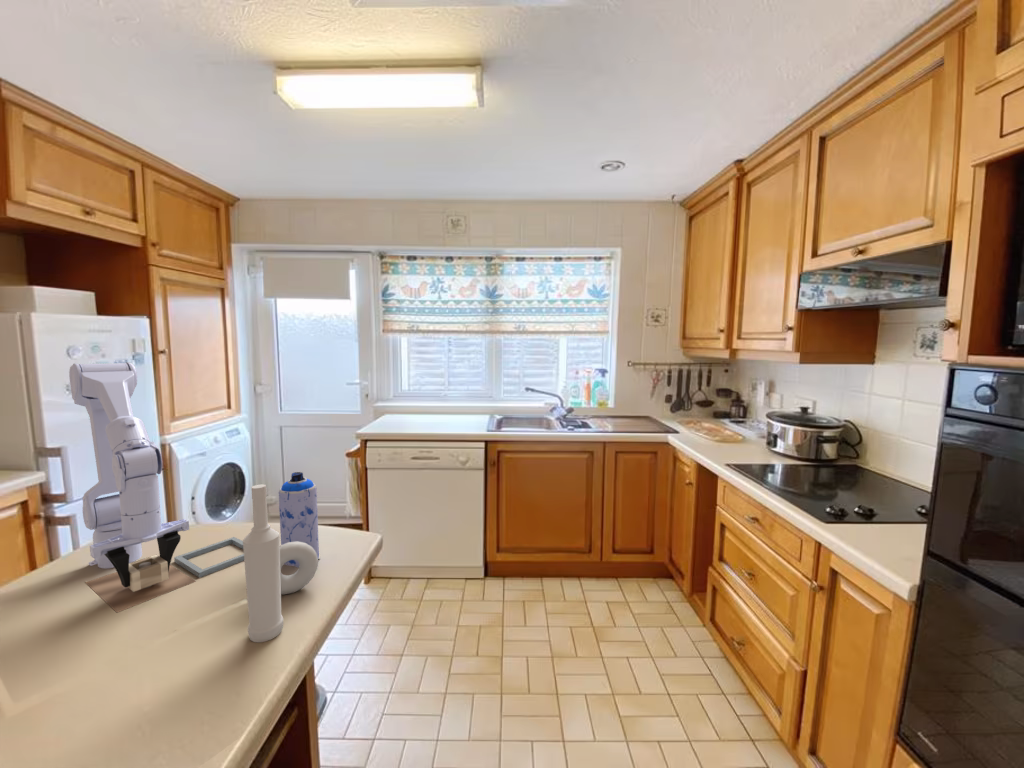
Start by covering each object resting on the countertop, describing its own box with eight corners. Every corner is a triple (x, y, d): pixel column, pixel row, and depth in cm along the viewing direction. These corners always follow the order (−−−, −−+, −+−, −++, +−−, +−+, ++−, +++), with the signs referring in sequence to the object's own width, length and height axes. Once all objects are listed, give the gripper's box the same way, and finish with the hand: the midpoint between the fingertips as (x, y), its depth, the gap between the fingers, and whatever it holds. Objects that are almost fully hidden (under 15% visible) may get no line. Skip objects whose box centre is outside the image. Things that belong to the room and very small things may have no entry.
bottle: (246, 647, 68) (238, 493, 66) (249, 628, 73) (241, 484, 71) (283, 637, 70) (276, 488, 68) (283, 619, 75) (277, 479, 73)
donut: (263, 605, 79) (260, 553, 78) (260, 597, 82) (258, 546, 81) (321, 587, 85) (319, 539, 84) (316, 580, 88) (315, 532, 87)
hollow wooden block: (123, 583, 83) (121, 565, 82) (157, 571, 87) (156, 554, 87) (133, 591, 80) (132, 573, 80) (168, 578, 84) (167, 561, 84)
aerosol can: (327, 555, 98) (324, 469, 96) (302, 572, 91) (298, 480, 89) (299, 551, 100) (295, 467, 99) (272, 567, 93) (267, 476, 91)
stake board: (85, 587, 85) (83, 560, 85) (159, 561, 95) (158, 537, 95) (117, 617, 75) (114, 588, 75) (196, 586, 85) (194, 559, 85)
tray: (174, 566, 93) (174, 557, 93) (234, 544, 103) (234, 536, 103) (199, 582, 87) (199, 572, 87) (260, 558, 97) (260, 549, 97)
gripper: (96, 528, 74) (102, 603, 75) (194, 502, 86) (198, 567, 87) (84, 519, 78) (90, 590, 79) (179, 496, 90) (183, 558, 91)
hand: (145, 578), depth 83 cm, fingers closed on hollow wooden block, 5 cm apart
